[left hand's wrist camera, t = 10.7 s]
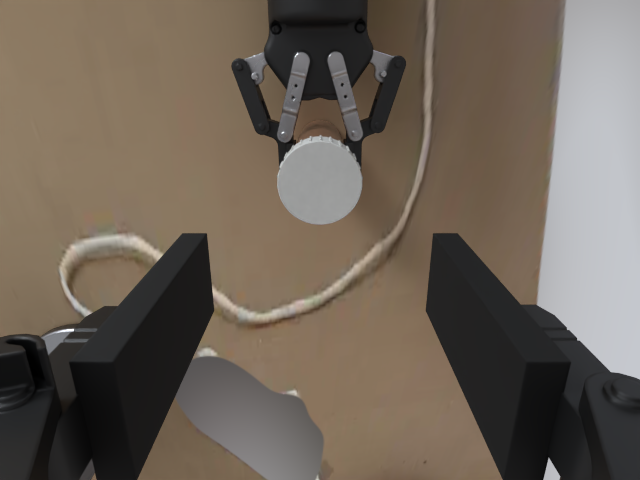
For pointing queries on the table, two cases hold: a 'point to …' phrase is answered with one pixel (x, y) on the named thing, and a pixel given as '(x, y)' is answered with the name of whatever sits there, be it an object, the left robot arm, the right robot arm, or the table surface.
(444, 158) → the table surface
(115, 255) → the table surface
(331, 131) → the jar
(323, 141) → the lid
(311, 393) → the table surface
